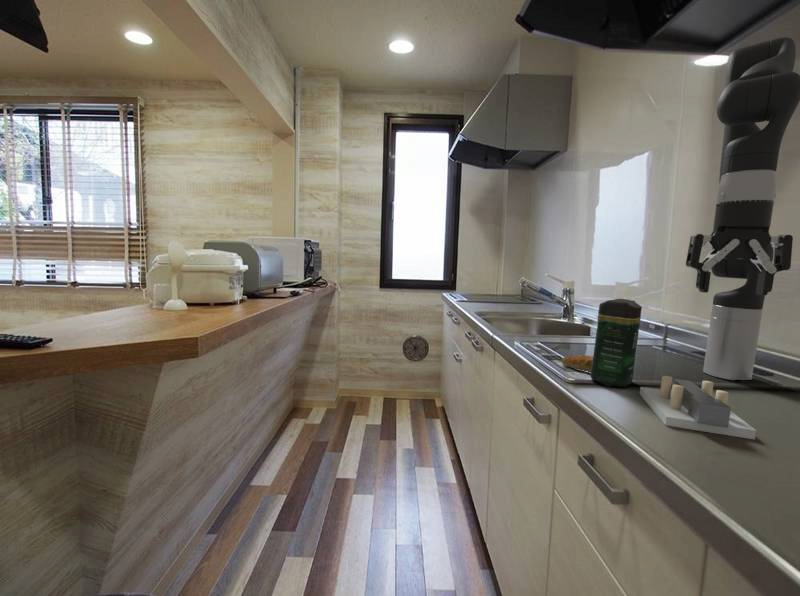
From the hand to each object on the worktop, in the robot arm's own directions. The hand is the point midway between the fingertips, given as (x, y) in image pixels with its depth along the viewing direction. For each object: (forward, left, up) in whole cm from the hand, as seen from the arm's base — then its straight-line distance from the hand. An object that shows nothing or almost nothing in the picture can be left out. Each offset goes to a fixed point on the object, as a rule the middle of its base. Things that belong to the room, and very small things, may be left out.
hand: (731, 293), depth 70 cm
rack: (+4, -5, -22) cm, 23 cm away
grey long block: (+6, -5, -20) cm, 22 cm away
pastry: (-19, -20, -22) cm, 35 cm away
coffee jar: (-11, -15, -22) cm, 29 cm away
